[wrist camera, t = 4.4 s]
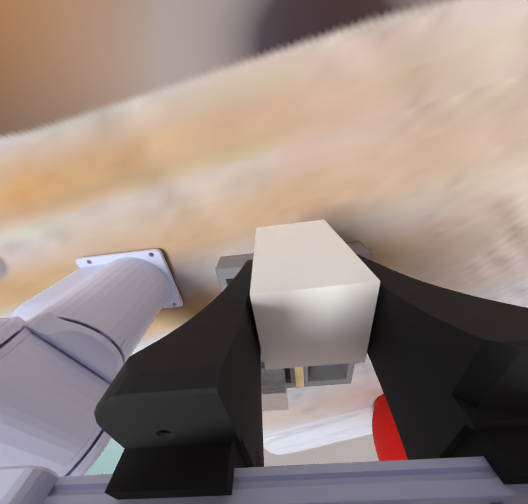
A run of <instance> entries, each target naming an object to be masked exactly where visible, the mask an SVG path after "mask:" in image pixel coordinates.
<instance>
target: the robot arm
mask: <svg viewBox="0 0 528 504" xmlns="http://www.w3.org/2000/svg"><path fill="white" fill-rule="evenodd" d="M151 253H153V254H154V255H152V254H151ZM355 254H356V253H355ZM356 255H357V256H358V257H359V258H360V259H361V260H362V262H363V263H364V264H365V265H366V266H367V267H368V268H369V269H370V270H371V271H372V272H373V274H374V275H375V276H376V277H377V278H378V279H379V280H380V287H379V292H378V297H377V302H376V307H375V312H374V318H373V323H372V328H371V333H370V338H369V343H368V349H367V353H368V356H369V358H370V360H371V362H372V365H373V367H374V370H375V372H376V375H377V377H378V380H379V382H380V385H381V387H382V390H383V392H384V395H385V398H386V400H387V403H388V405H389V408H390V411H391V413H392V416H393V419H394V422H395V424H396V427H397V430H398V433H399V436H400V438H401V441H402V444H403V447H404V450H405V453H406V456H407V459H408V460H395V461H375V462H353V463H333V464H311V465H291V466H269V467H264V457H263V428H262V395H261V346H260V341H259V336H258V332H257V327H256V322H255V318H254V313H253V308H252V304H251V299H250V286H251V276H252V266H253V260H247V261H246V263H245V264H244V265H243V267H242V268H241V270H240V271H239V272H238V274H237V275H236V276H235V277H234V279H233V280H232V281H231V282H230V284H229V285H228V286H227V287H226V288H225V289H224V290H223V292H222V293H221V294H220V295H219V296H218V297H217V298H216V299H214V300H213V301H212V302H211V303H210V304H209V305H208V306H207V307H205V308H204V309H203V310H202V311H200V312H199V313H198V314H197V315H195V316H194V317H193V318H191V319H190V320H189V321H187V322H186V323H185V324H183V325H182V326H180V327H179V328H177V329H176V330H174V331H173V332H171V333H170V334H168V335H166V336H165V337H163V338H162V339H160V340H158V341H156V342H155V343H153V344H151V345H149V346H148V347H146V348H144V349H142V350H141V351H139V352H137V353H135V354H133V355H132V356H130V355H131V354H132V352H133V351H134V349H135V348H136V346H137V345H138V343H139V342H140V340H141V339H142V337H143V336H144V334H145V333H146V331H147V330H148V328H149V327H150V325H151V324H152V322H153V321H154V319H155V318H156V316H157V315H158V313H159V312H160V310H161V309H163V308H173V307H181V306H182V305H183V300H182V298H181V296H180V293H179V291H178V289H177V286H176V284H175V282H174V279H173V277H172V275H171V272H170V270H169V268H168V265H167V263H166V261H165V258H164V256H163V253H162V252H161V250H159V249H149V250H140V251H132V252H123V253H114V254H106V255H97V256H89V257H80V258H78V259H77V260H76V263H77V265H78V266H79V269H77V270H76V271H74V272H72V273H71V274H69V275H68V276H66V277H64V278H63V279H61V280H60V281H58V282H56V283H55V284H53V285H52V286H50V287H48V288H47V289H45V290H43V291H42V292H40V293H39V294H37V295H35V296H34V297H32V298H31V299H29V300H27V301H26V302H24V303H23V304H22V305H20V306H19V307H18V308H17V309H16V310H15V311H14V312H13V313H12V315H11V316H10V318H0V504H528V308H526V307H520V306H515V305H511V304H506V303H501V302H497V301H492V300H488V299H483V298H479V297H475V296H471V295H467V294H463V293H459V292H456V291H452V290H449V289H445V288H441V287H438V286H435V285H432V284H429V283H426V282H423V281H420V280H417V279H414V278H411V277H408V276H406V275H403V274H401V273H398V272H396V271H393V270H391V269H388V268H386V267H384V266H382V265H379V264H377V263H375V262H373V261H371V260H369V259H367V258H365V257H363V256H361V255H358V254H356ZM175 303H176V304H175ZM111 438H113V439H114V440H115V441H117V442H118V443H119V444H120V445H121V446H123V447H124V448H125V449H124V452H123V454H122V456H121V458H120V460H119V462H118V464H117V466H116V469H115V471H114V473H113V474H101V475H84V474H85V473H86V472H87V471H88V469H89V468H90V467H91V466H92V465H93V464H94V462H95V461H96V460H97V458H98V457H99V456H100V454H101V453H102V451H103V450H104V448H105V447H106V446H107V444H108V443H109V441H110V439H111Z"/></svg>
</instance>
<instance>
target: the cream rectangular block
mask: <svg viewBox="0 0 528 504" xmlns="http://www.w3.org/2000/svg"><path fill="white" fill-rule="evenodd" d="M379 287H380V280H379V279H378V278H377V277H376V276H375V275H374V274H373V272H372V271H371V270H370V269H369V268H368V267H367V266H366V265H365V264H364V263H363V262H362V260H361V259H360V258H359V257H358V256H357V255H356V254H355V253H354V252H353V251H352V249H351V248H350V247H349V246H348V245H347V244H346V243H345V242H344V241H343V240H342V239H341V237H340V236H339V235H338V234H337V233H336V232H335V231H334V230H333V229H332V228H331V227H330V225H329V224H328V223H327V222H326V221H325V220H316V221H308V222H300V223H292V224H283V225H275V226H267V227H259V228H256V236H255V246H254V256H253V266H252V276H251V286H250V299H251V304H252V308H253V313H254V318H255V322H256V327H257V332H258V336H259V341H260V346H261V351H262V355H263V360H264V365H265V369H266V370H269V369H282V368H295V367H308V366H320V365H333V364H346V363H358V362H365V359H366V354H367V349H368V343H369V338H370V333H371V328H372V323H373V318H374V312H375V307H376V302H377V297H378V292H379Z"/></svg>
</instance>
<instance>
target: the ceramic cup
mask: <svg viewBox="0 0 528 504" xmlns="http://www.w3.org/2000/svg"><path fill="white" fill-rule="evenodd" d="M372 431H373V438H374V443H375V447H376V451H377V455H378V458H379V461H395V460H408V459H407V456H406V453H405V450H404V447H403V444H402V441H401V438H400V436H399V433H398V430H397V427H396V424H395V422H394V419H393V416H392V413H391V411H390V408H389V405H388V403H387V400H386V398H385V395H382V396H380V397H379V398H378V399H377V400H376V402H375V408H374V411H373V418H372Z"/></svg>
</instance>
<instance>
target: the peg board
mask: <svg viewBox="0 0 528 504" xmlns="http://www.w3.org/2000/svg"><path fill="white" fill-rule="evenodd" d="M346 244H347V245H348V246H349V247H350V248H351V249H352V251H353V252H354V253H356V254H358V255H361V256H363V257H365V258H367V259H369V260H371V255H372V253H371V252H370V251H369V250H368V249H367V248H366V247H365V246H364V245H363V244H362V243H361V242H352V243H346ZM253 256H254V254H245V255H236V256H227V257H220V260H219V262H218V265H217V267H216V269H215V270H216V273H217V277H218V280H219V284H220V287H221V291H222V292H223V290H224V289H225V288H226V287H227V286H228V285H229V284H230V282H231V281H232V280H233V278H234V277H235V276H236V275H237V274H238V272H239V271H240V270H241V268H242V267H243V265H244V264H245V263H246V261H247V260H253ZM261 362H264V360H263V355H262V351H261ZM353 367H354V363H346V364H333V365H320V366H308V367H295V368H285V378H286V388H291V387H296V388H297V387H305V386H320V385H334V384H349V383H351V380H352V374H353Z"/></svg>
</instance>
